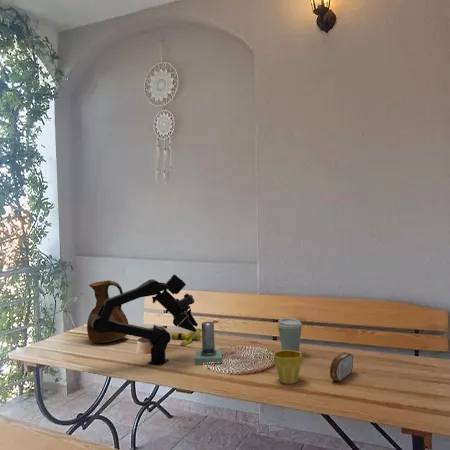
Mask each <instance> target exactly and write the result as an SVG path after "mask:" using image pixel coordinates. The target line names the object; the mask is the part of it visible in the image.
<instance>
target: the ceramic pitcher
mask: <svg viewBox="0 0 450 450" xmlns="http://www.w3.org/2000/svg"><path fill="white" fill-rule="evenodd" d="M88 286H89V287H90V288H91V289H92V290H93V291H94V297H95V300H96V302H95V306H94V308H93V309H91V312H90V313H89V316H88V318H87V322H86V323H87V325H86V331H87V335H88V336H87V337H88V340H89V341H90V342H92V343H97V344H100V343H101V344H102V343H109V342H113V341H114V342H115V341H117V340H120V339H123V338H124V337H127V336H128V335H127V334H122V333H117V332H109V333H99V332H96V331H95V330H94V329H93V326H92V319H93V318H94V317H95V316H97V314H98V312H99V310H100V309H101V307H102V306H103V304H104V301H105V300H106V299H107V298H110V296H109V287H111V286H114V287H116V288H117V289H118V291H119V295H120V294H122V293H124V292H123V289H122V286H121V285H120V284H119V283H118V282H116V281H114V280H113V281H112V280H103V281H102V280H101V281H96V282H93V283H90V284H89V285H88ZM122 306H123V304H122V305H120V306H117V307H114V308H113V310H112V313H111V315H110V319H112V320H114V321H116V322H120V323H125V324H129V320H128V318H127V315H126V314H125V312H124V311H123V309H122Z"/></svg>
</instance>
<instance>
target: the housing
mask: <svg viewBox="0 0 450 450" xmlns="http://www.w3.org/2000/svg"><path fill="white" fill-rule="evenodd" d="M215 343H216V342H215V322H213V321H203V322H201V350H202V351H201V355H202V356H214V355H216V351H215V350H216V347H215V346H216V345H215Z"/></svg>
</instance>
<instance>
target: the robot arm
mask: <svg viewBox="0 0 450 450" xmlns="http://www.w3.org/2000/svg"><path fill="white" fill-rule="evenodd" d="M185 286H187V284H186V283H185V282H184V280H182V278H179V276H177V275H176V274H172V276H170V278H169V279H168V281H166V283H165V282H159V281H157V280H156V279H152V278H151V279H148V280H146V281H144V282H143V283H142V284H140V285H139V286H137V287H136V288H133V289H130V290H128V291H125V292H123V293H122V294H120V293H119V294H117V295H115V296H113V297H109V298H107V299H106V300H105V301H104V304H103V306H102V307H101V309H100V310H99V312H98V314H97V316H95V317H94V318H93V319H92V326H93V329H94V330H95V331H96V332H99V333H109V332H117V333H122V334H127V335H126V336H132V337H137V338H142V339H147V340H148V343H149V346H151V347H150V348H151V349H150V361H148V362H147V364H148V365H157V366H163V365H164V364H166V363H167V362H169V360H170V359H169V358H166V349H167V348H168V347H167V346H168V344H169V343H170V342H171V339H172V338H171V337H172V336H171V334H170V333H169V332H168V330H166V328H164V326H158V325H155V324H153V327H150V328H147V327H143V326H138V325H134V324H129V323H128V324H125V323H120V322H116V321H114V320H112V319H110V315H111V313H112V310H113V308H114V307H117V306H120V305H122V306H123V305H125V304H128V303H130V302H132V301H134V300H137V299H141V298H144V297H145V298H146V297H151V298H152V303H153V304H155V303H156V302H157V303H159V304H160V305H161V306H162V307H163V308H164V309H165V311H166V313H169V314H170V315H171V316H173V317H172V318H173V320H172V324H173V326H175V327H177V328H181V329H184V330H188V331H189V332H196V330H197V328H195V327H198V325H199V323H198V322H197V321H196V319H195V317H193V314H192V308H191V306H190V305H193V304H195V299H194V297H193V295H192V294H189V293H187V292H186V293H185V294H184V295H183V298H181V299H178V298H175V297H174V296H173V295H178V294H179V293H180V292H181V291H182V290H183V289H184V288H185Z"/></svg>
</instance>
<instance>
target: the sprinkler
mask: <svg viewBox="0 0 450 450" xmlns="http://www.w3.org/2000/svg"><path fill="white" fill-rule="evenodd" d="M201 332H202V328H196V332H193V331H189V332H188V333H187V334H185V333H180V332H179V333H172V334H170V336H171V339H173V340H181V341H182V342H181V343H180V344H179V346H180V347H185V346H186V345H188V344H190V343H191V342H192V341H193V340H195V341H196V340H197V341H200V340H201V339H202V334H201Z"/></svg>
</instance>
